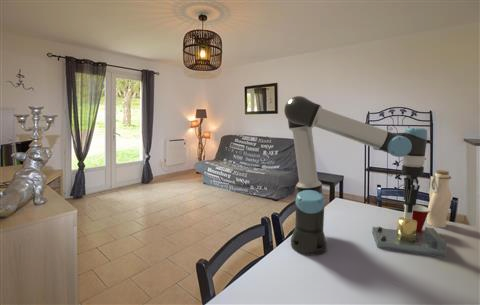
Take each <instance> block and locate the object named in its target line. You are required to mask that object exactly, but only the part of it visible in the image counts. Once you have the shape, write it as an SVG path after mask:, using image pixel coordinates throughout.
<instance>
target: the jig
mask: <svg viewBox="0 0 480 305" xmlns="http://www.w3.org/2000/svg"><path fill="white" fill-rule="evenodd" d="M371 231H372V235H373V239H374V243H375V245H376V248H379V249H386V250H391V251H399V252H406V253H413V254H419V255H420V254H421V255H425V256H427V255H428V256H434V257H439V258H440V257H441V258H446V253H447V242H446V241H445V240H444V238H443V237H442V236H441V234H439V233H438V232H437V231H436V230H435V229H434V227H427V226H425V227H424V233H423V232H416V237H415V241H412V242H410V241H404V240H400V239H399V238H398V237H397V229H393V228H384V227H382V226H377V227H375V226H372V230H371Z"/></svg>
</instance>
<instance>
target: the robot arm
mask: <svg viewBox="0 0 480 305" xmlns="http://www.w3.org/2000/svg"><path fill="white" fill-rule="evenodd" d="M283 112H284V115H285V117H286V119H287V121H288V122H287V123H288V129H289V130H290V131H292V137H293V144H294V152H295V157H296V158H295V160H296V168H297V176H298V182H297V183H296V192H297V194H296V196H295V223H294V224H295V226H294V229H293V232H292V235H291V237H290V246H291V248H292V249H293V250H294V251H295V252H298V253H300V254H302V255H303V254H304V255H308V256H319V255H322V254H324V253H325V252H326V251H327V249H328V242H327V238H326V236H325V232H324V225H325V224H324V221H325V220H324V219H325V206H326V201H325V200H326V199H325V195H324V193H323V186H322V185H323V184H322V182H321V181H320V180H319V179H318V178H319V177H318V171H317V162H316V154H315V147H314V146H315V145H314V137H313V128H315V127H316V128H319V129H321V130H324V131H327V132H330V133H333V134H335V135H337V136H340V137H343V138H346V139H349V140H352V141H354V142H358V143H360V144H363V145H365V146H368V147H371V148H372V149H373V150H374V151H382V152H384V153H387V154H390V155H391V156H393V157H397V158H401V157H402V165H401V173H402V174H403V175H405V177H403V183H404V184H403V185H404V186H403V200H404V204H405V207H404V210H403V211H404V212H403V217H404V219H410V220H412V216H413V206H414V205H417V200H418V194H419V190H420V187H421V186H420V185H419V178H418V177H421V176H423V175H424V171H425V167H424V165H425V160H426V161H427V158H426V151H427V150H426V149H427V141H428V130H427V129H426V128H424V127H407V128H405V131H404V132H391V131H387V130H385V129H382V128H379V127H377V126H374V125H371V124H369V123H365V122H362V121H359V120H357V119H354V118H351V117H348V116H344V115H342V114H339V113H337V112H334V111H331V110H328V109H326V108H325V109H324V108H323V107H322V105H321V104H319V103H316V102H313V101H312V100H309V98H307V97H305V96H300V95H297V96H293V97H291V98H289V99H288V101H286V103H285V104H284V111H283Z"/></svg>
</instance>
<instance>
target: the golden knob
mask: <svg viewBox="0 0 480 305" xmlns="http://www.w3.org/2000/svg"><path fill="white" fill-rule="evenodd" d="M416 228H417V221H416V220H414V219H412V220H410V219H404V216H402V217H401V216H399V217H398V219H397V228H396V230H397V237H398V238H399V239H400V240H404V241H410V242H412V241H415V237H416Z"/></svg>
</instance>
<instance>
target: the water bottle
mask: <svg viewBox="0 0 480 305" xmlns="http://www.w3.org/2000/svg"><path fill="white" fill-rule="evenodd" d="M450 179H452V177H451V176H450V172H449V171H448V170H443V169H437V170H435V173H434V174H433V176H430V181H429V182H430V183H429V184H430V185H429V189H428V190H429V193H428V194H429V203H428V207H427V208H429V209H430V212H429V213H428V215H427V217H426V223H427V225H430V226H432V227H436V228H446V227H447V217H448V213H449V210H450V207H451V202H452V192H451V189H450V187H449V185H450Z"/></svg>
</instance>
